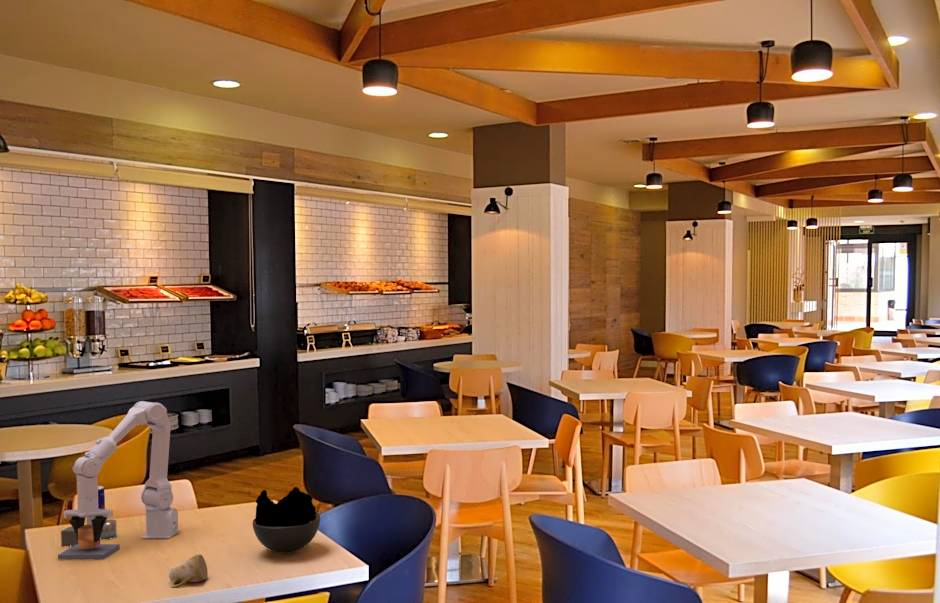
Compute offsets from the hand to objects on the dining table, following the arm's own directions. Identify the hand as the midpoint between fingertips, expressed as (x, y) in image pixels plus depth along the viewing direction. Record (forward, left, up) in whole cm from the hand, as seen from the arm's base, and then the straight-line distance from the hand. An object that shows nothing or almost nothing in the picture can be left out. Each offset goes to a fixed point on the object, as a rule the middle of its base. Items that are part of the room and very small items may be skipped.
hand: (89, 540), depth 249 cm
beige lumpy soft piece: (-41, +24, -4) cm, 47 cm away
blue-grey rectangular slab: (0, 0, -4) cm, 4 cm away
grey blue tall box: (+10, -23, -4) cm, 25 cm away
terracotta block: (0, 0, -2) cm, 2 cm away
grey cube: (+3, -17, -4) cm, 18 cm away
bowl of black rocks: (-61, -1, -4) cm, 61 cm away
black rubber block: (+11, -10, -4) cm, 15 cm away
